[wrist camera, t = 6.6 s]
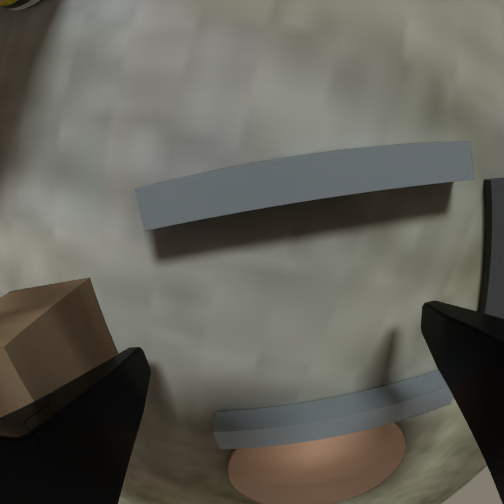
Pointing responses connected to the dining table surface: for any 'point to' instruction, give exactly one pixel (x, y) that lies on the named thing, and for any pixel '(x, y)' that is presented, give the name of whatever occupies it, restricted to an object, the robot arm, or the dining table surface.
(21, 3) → the supplement bottle
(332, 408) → the grey parallel rails
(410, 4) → the dining table surface
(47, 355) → the walnut block
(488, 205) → the pad
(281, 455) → the terracotta coaster
